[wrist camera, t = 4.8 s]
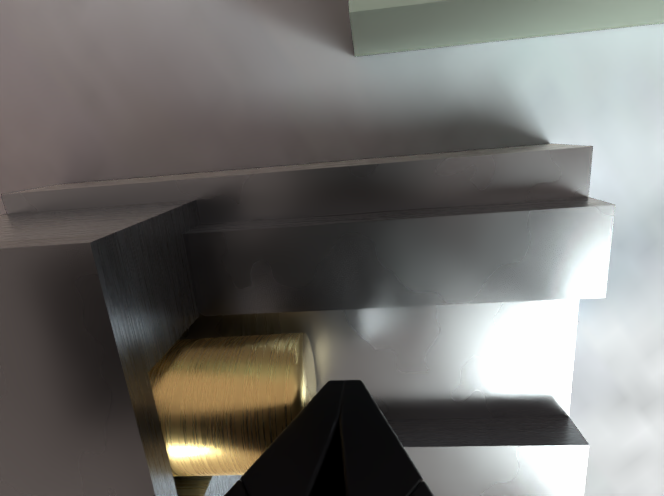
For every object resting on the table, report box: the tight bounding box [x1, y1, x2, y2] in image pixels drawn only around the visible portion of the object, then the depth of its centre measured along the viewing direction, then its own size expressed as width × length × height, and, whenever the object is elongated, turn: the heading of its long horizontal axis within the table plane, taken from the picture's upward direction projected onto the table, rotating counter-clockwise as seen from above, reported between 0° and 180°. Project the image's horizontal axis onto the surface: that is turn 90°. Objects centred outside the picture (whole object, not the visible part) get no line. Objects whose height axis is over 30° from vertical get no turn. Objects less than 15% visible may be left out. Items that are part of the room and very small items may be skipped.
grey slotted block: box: [0, 144, 615, 496], centre depth 10 cm, size 10×14×6 cm
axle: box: [148, 333, 316, 476], centre depth 10 cm, size 3×14×3 cm, turn 96°
